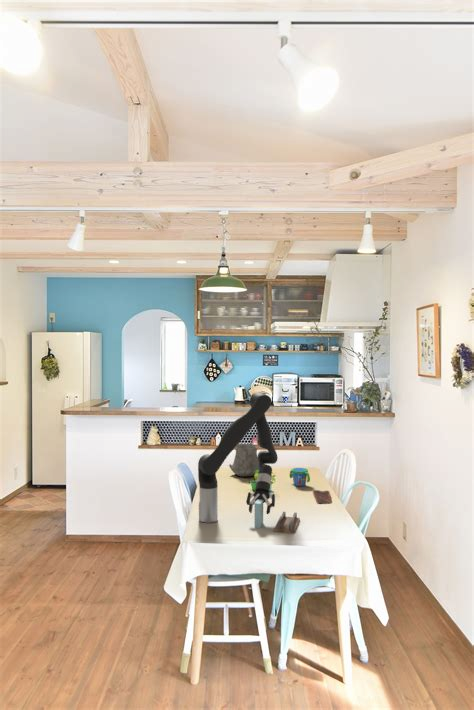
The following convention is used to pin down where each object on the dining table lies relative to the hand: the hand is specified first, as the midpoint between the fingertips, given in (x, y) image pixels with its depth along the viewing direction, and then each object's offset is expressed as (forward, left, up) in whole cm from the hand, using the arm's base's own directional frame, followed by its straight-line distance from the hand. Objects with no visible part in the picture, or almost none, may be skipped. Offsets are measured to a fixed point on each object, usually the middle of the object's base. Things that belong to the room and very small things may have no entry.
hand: (258, 512), depth 269 cm
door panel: (0, 0, -6) cm, 6 cm away
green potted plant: (-1, +66, -7) cm, 67 cm away
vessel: (-12, +101, -7) cm, 102 cm away
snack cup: (+24, +77, -6) cm, 81 cm away
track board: (+14, +1, -6) cm, 15 cm away
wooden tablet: (+36, +51, -7) cm, 63 cm away
